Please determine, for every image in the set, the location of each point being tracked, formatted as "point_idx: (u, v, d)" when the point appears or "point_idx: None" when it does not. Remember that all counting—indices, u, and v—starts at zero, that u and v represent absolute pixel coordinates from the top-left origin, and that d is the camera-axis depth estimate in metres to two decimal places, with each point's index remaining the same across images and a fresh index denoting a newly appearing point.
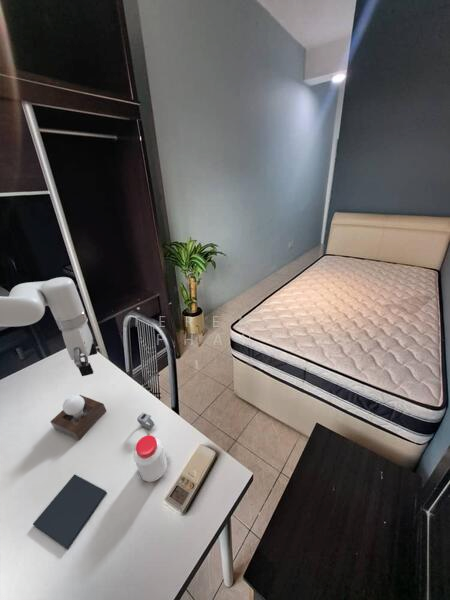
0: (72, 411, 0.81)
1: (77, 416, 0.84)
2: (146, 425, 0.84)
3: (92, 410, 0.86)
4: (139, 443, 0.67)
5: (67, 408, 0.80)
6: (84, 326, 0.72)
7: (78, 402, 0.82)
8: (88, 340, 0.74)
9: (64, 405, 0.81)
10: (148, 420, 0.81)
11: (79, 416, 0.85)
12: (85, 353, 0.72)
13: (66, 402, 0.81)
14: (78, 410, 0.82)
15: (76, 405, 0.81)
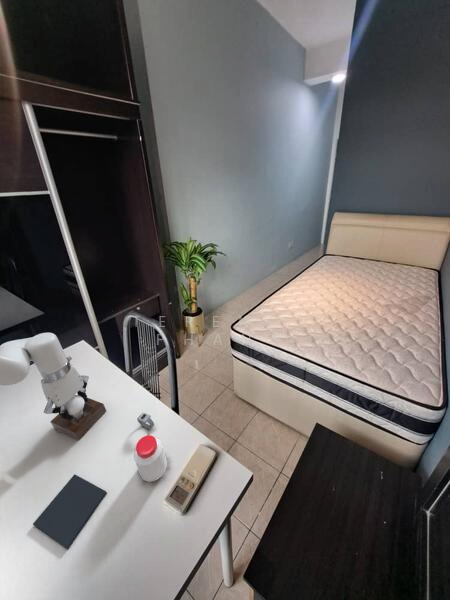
0: (72, 411, 0.81)
1: (77, 416, 0.84)
2: (146, 425, 0.84)
3: (92, 410, 0.86)
4: (139, 443, 0.67)
5: (67, 408, 0.80)
6: (62, 379, 0.76)
7: (78, 402, 0.82)
8: (66, 391, 0.78)
9: (64, 405, 0.81)
10: (148, 420, 0.81)
11: (79, 416, 0.85)
12: (56, 404, 0.76)
13: (66, 402, 0.81)
14: (78, 410, 0.82)
15: (76, 405, 0.81)
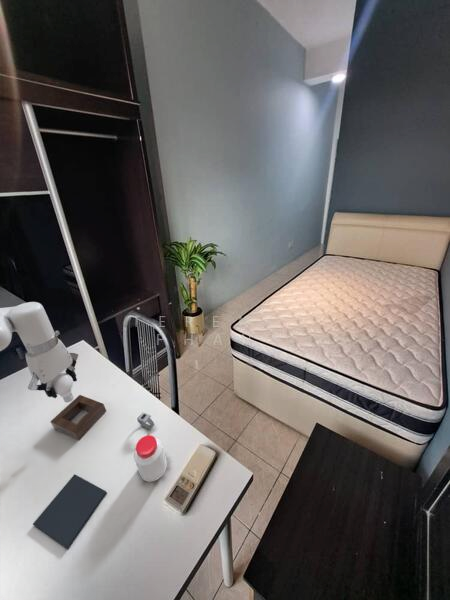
0: (59, 390, 0.76)
1: (65, 396, 0.79)
2: (146, 425, 0.84)
3: (92, 410, 0.86)
4: (139, 443, 0.67)
5: (54, 385, 0.75)
6: (49, 353, 0.71)
7: (66, 380, 0.77)
8: (53, 367, 0.73)
9: (51, 383, 0.76)
10: (148, 420, 0.81)
11: (67, 396, 0.80)
12: (41, 380, 0.71)
13: (53, 380, 0.76)
14: (66, 389, 0.77)
15: (64, 383, 0.76)
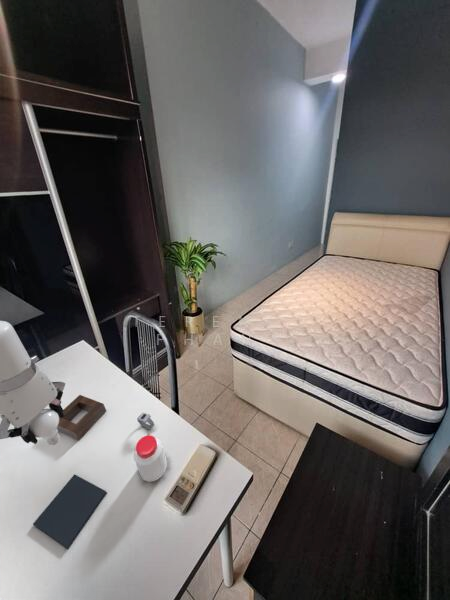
0: (40, 433, 0.58)
1: (49, 438, 0.61)
2: (146, 425, 0.84)
3: (92, 410, 0.86)
4: (139, 443, 0.67)
5: (33, 428, 0.57)
6: (23, 389, 0.53)
7: (49, 419, 0.59)
8: (30, 406, 0.55)
9: (29, 424, 0.58)
10: (148, 420, 0.81)
11: (52, 438, 0.62)
12: (14, 424, 0.53)
13: (32, 420, 0.58)
14: (49, 430, 0.59)
15: (46, 423, 0.58)
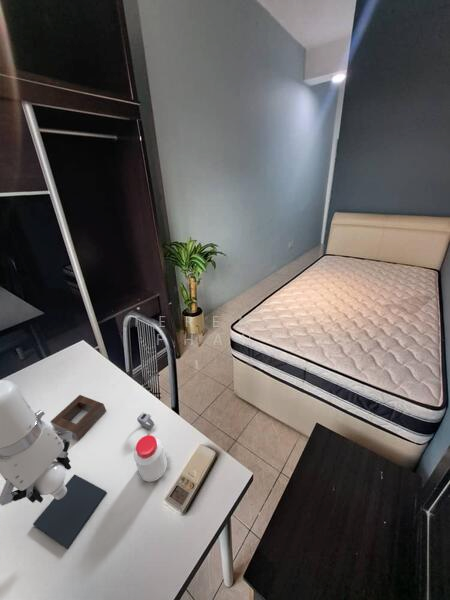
0: (45, 491, 0.54)
1: (55, 493, 0.58)
2: (146, 425, 0.84)
3: (92, 410, 0.86)
4: (139, 443, 0.67)
5: (39, 486, 0.54)
6: (28, 450, 0.49)
7: (55, 475, 0.55)
8: (35, 466, 0.51)
9: (34, 482, 0.54)
10: (148, 420, 0.81)
11: (58, 492, 0.58)
12: (18, 488, 0.49)
13: None
14: (55, 487, 0.55)
15: (52, 480, 0.55)
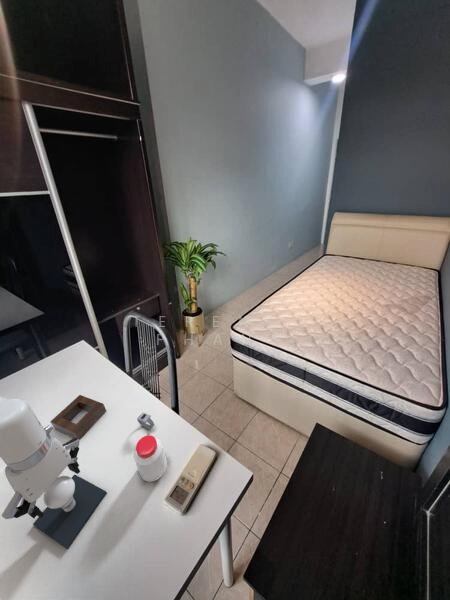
0: (56, 505, 0.57)
1: (64, 506, 0.61)
2: (146, 425, 0.84)
3: (92, 410, 0.86)
4: (139, 443, 0.67)
5: (50, 501, 0.57)
6: (38, 464, 0.51)
7: (66, 489, 0.59)
8: (44, 479, 0.53)
9: (45, 496, 0.57)
10: (148, 420, 0.81)
11: (67, 506, 0.61)
12: (28, 500, 0.52)
13: (48, 491, 0.58)
14: (65, 501, 0.58)
15: (62, 495, 0.58)
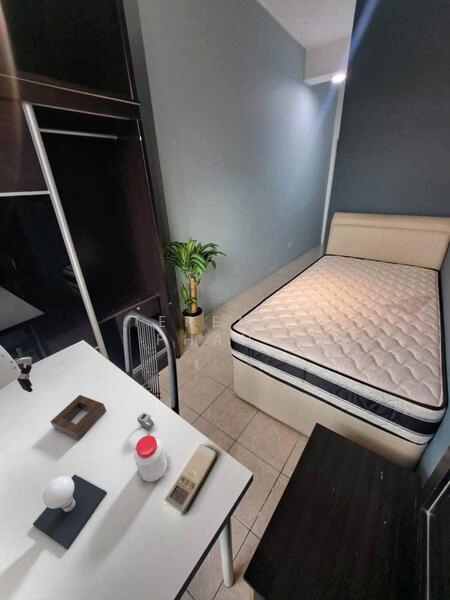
0: (55, 505, 0.57)
1: (64, 506, 0.61)
2: (146, 425, 0.84)
3: (92, 410, 0.86)
4: (139, 443, 0.67)
5: (49, 500, 0.57)
6: None
7: (65, 489, 0.59)
8: None
9: (45, 496, 0.57)
10: (148, 420, 0.81)
11: (67, 505, 0.61)
12: None
13: (47, 491, 0.58)
14: (65, 501, 0.58)
15: (62, 495, 0.58)
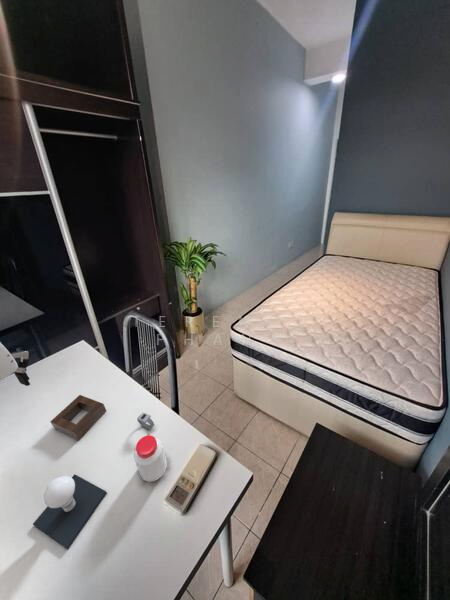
0: (56, 505, 0.57)
1: (64, 506, 0.61)
2: (146, 425, 0.84)
3: (92, 410, 0.86)
4: (139, 443, 0.67)
5: (50, 500, 0.57)
6: None
7: (66, 489, 0.59)
8: None
9: (46, 495, 0.57)
10: (148, 420, 0.81)
11: (67, 505, 0.61)
12: None
13: (48, 491, 0.58)
14: (65, 501, 0.58)
15: (63, 494, 0.58)
